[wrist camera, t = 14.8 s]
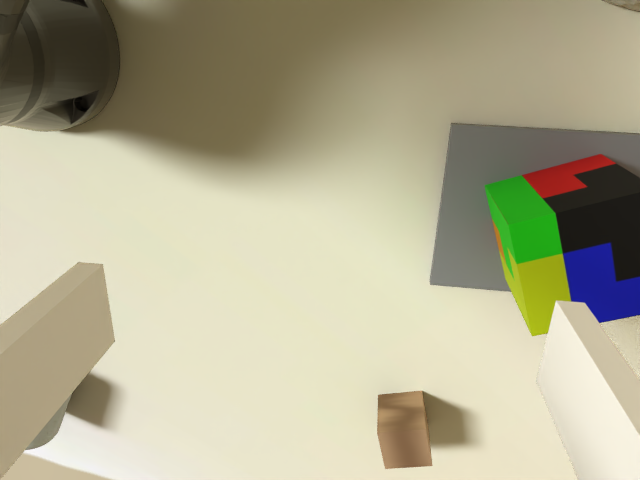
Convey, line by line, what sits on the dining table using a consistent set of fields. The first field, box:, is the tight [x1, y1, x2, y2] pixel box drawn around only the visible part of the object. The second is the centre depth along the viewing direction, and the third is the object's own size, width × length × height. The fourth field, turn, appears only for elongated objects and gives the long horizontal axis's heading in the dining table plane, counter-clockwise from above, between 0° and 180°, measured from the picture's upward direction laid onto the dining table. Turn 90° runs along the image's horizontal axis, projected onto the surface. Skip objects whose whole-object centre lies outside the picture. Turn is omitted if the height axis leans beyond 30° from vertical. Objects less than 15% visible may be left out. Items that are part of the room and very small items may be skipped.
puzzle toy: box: [484, 154, 640, 336], centre depth 43 cm, size 10×10×10 cm
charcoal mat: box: [430, 123, 640, 292], centre depth 47 cm, size 20×16×1 cm
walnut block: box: [377, 391, 432, 469], centre depth 56 cm, size 5×5×6 cm
